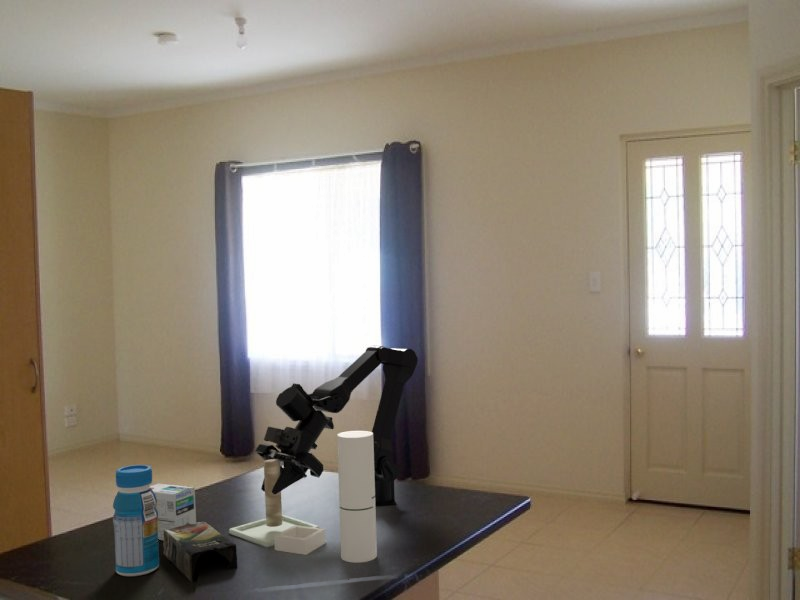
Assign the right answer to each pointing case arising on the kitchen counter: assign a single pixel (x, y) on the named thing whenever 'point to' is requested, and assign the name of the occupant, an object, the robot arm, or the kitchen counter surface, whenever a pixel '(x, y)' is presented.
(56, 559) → the kitchen counter surface
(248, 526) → the tray
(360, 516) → the cylindrical container
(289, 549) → the holder
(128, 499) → the beverage bottle
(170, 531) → the juice carton
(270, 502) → the dowel
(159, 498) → the light bulb box
